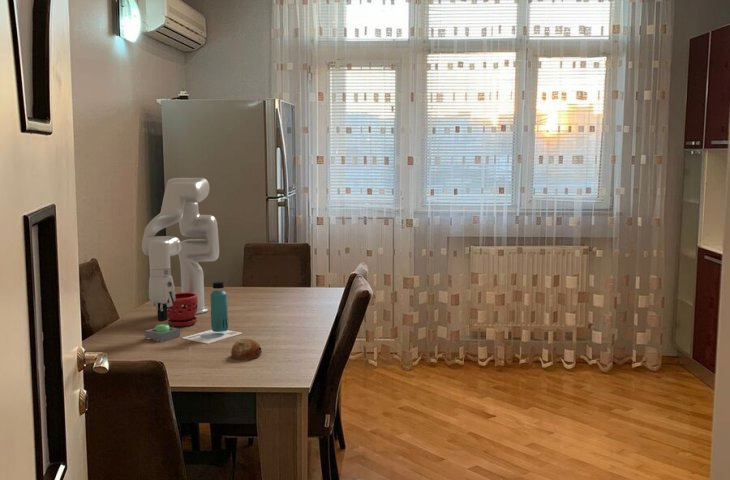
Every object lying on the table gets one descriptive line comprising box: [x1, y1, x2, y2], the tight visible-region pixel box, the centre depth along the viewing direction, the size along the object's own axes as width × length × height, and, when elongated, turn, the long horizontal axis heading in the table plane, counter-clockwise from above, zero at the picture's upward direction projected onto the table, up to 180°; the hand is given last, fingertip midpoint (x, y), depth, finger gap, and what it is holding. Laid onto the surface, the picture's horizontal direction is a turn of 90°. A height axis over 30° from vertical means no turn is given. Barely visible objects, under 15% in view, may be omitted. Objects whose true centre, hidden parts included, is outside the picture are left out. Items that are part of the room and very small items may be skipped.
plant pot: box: [167, 292, 198, 328], centre depth 302 cm, size 13×13×12 cm
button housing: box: [144, 326, 181, 342], centre depth 281 cm, size 9×9×3 cm
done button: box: [154, 323, 170, 333], centre depth 281 cm, size 5×5×4 cm
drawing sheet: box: [181, 329, 244, 345], centre depth 283 cm, size 14×18×1 cm
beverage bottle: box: [209, 281, 229, 332], centre depth 283 cm, size 6×7×20 cm
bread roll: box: [230, 338, 263, 361], centre depth 255 cm, size 10×10×8 cm
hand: (162, 320), depth 281 cm, fingers closed
